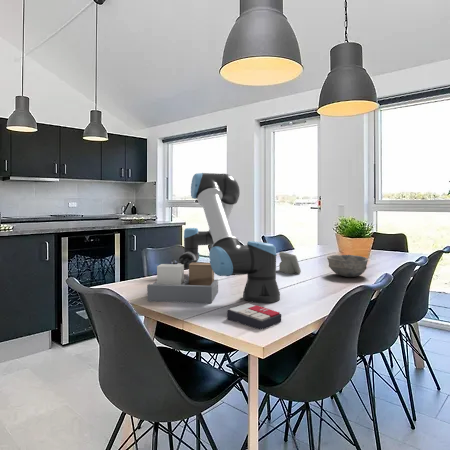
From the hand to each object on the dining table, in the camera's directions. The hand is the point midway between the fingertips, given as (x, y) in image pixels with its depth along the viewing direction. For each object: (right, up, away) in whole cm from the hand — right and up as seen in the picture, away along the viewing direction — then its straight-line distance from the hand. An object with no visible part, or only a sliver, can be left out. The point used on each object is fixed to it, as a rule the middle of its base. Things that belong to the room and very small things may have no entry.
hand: (176, 268), depth 172 cm
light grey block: (-1, -8, -10) cm, 13 cm away
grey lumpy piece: (+58, -7, +41) cm, 72 cm away
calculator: (+32, -13, -44) cm, 56 cm away
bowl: (+86, -7, +29) cm, 91 cm away
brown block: (+12, -8, -6) cm, 16 cm away
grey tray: (+5, -10, -12) cm, 17 cm away
